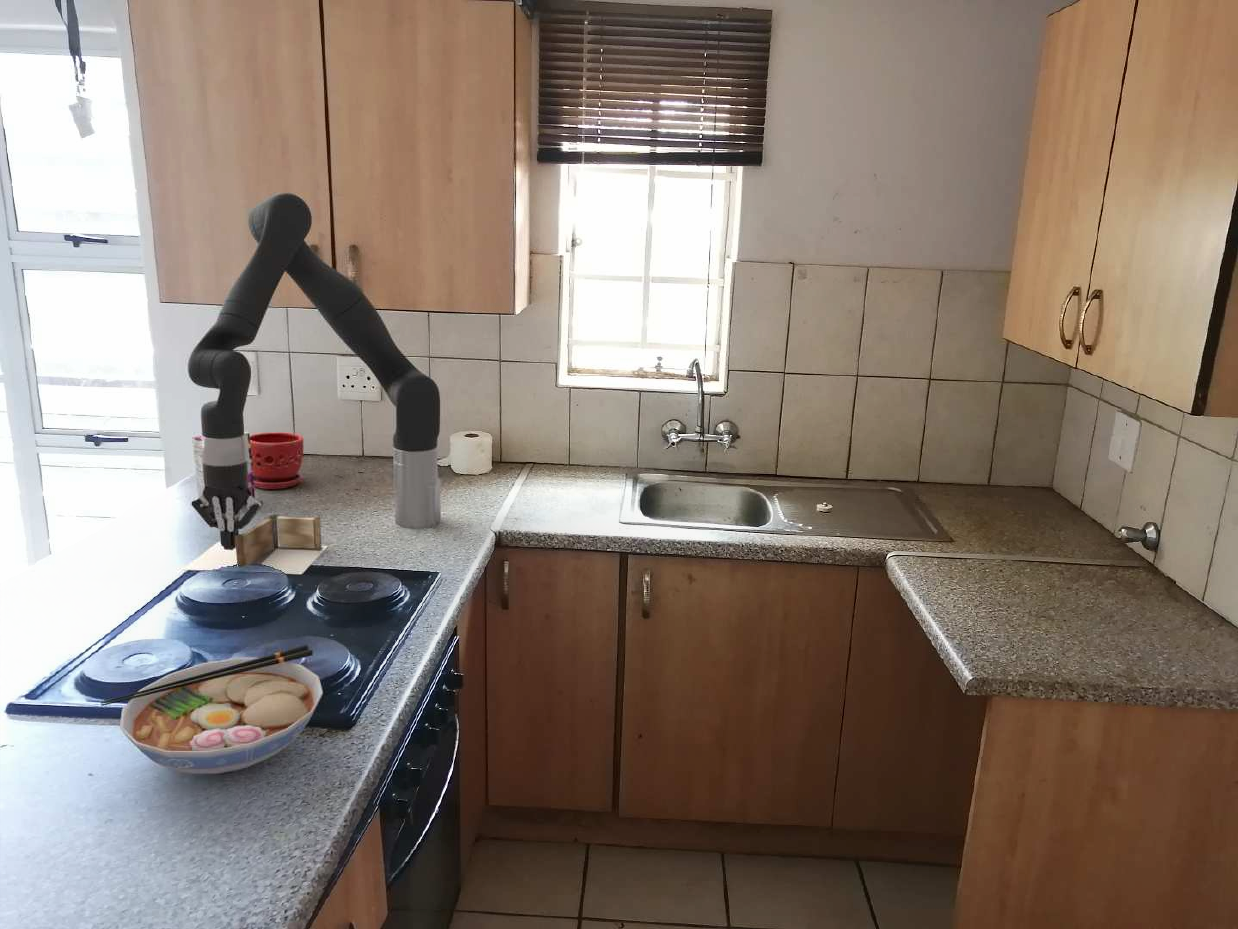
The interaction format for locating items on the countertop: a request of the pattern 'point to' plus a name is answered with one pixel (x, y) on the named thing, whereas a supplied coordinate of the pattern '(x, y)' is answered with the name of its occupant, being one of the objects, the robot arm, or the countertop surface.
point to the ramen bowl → (222, 712)
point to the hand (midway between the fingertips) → (230, 548)
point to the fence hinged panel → (254, 543)
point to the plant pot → (276, 459)
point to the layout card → (259, 559)
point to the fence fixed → (296, 532)
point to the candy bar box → (199, 466)
